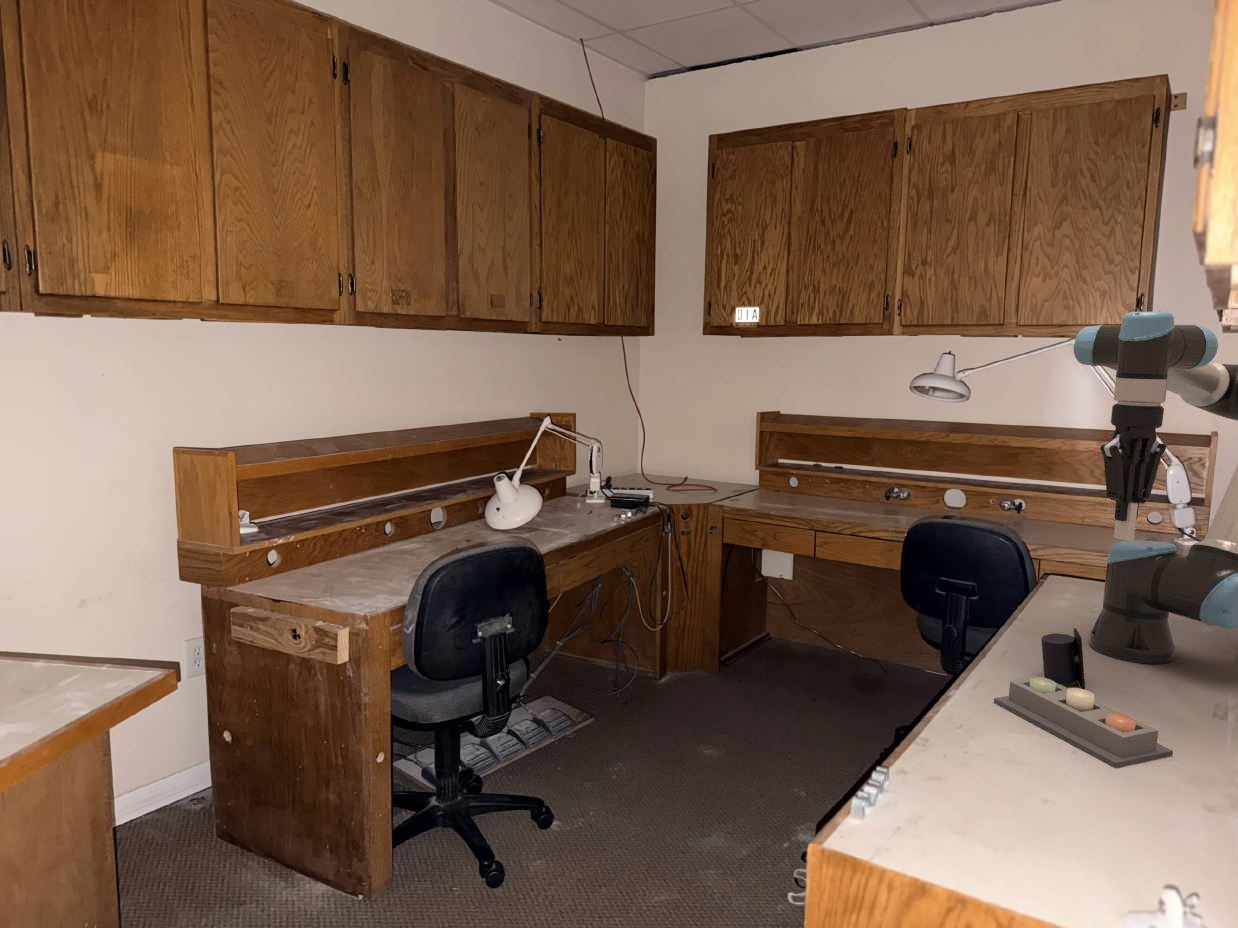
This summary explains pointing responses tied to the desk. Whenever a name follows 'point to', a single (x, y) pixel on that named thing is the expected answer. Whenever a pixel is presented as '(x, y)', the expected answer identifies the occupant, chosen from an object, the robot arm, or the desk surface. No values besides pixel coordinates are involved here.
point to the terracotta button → (1120, 722)
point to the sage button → (1042, 684)
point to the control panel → (1083, 725)
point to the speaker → (1063, 658)
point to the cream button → (1080, 699)
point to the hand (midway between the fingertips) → (1123, 538)
